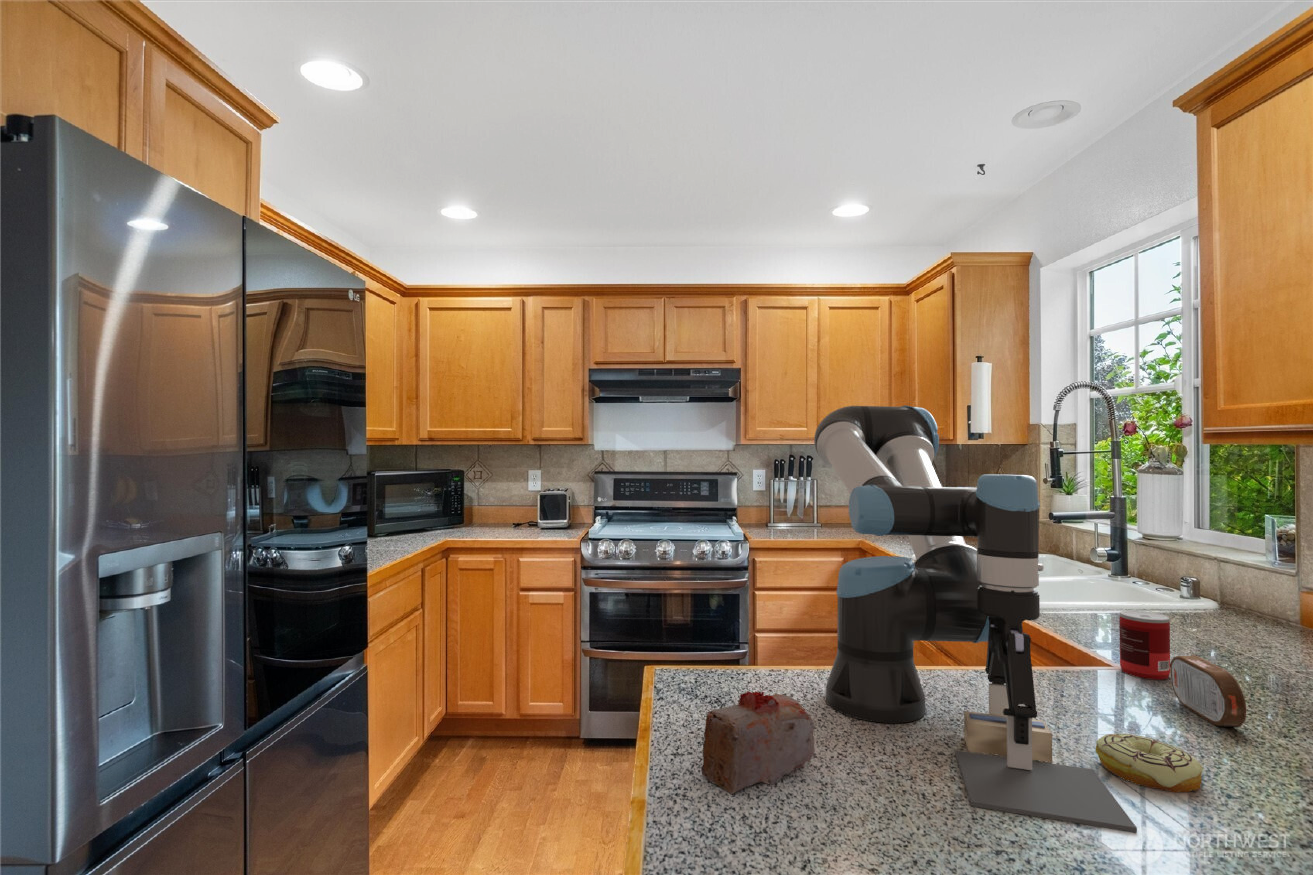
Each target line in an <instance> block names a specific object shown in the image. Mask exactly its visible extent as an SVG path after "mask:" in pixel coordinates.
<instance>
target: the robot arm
mask: <svg viewBox="0 0 1313 875" xmlns="http://www.w3.org/2000/svg"><path fill="white" fill-rule="evenodd" d="M938 430H939V428H938V424H937V421H936V420H935V418H934V416H933V415H932V414H931V412H929V410H927V409H926V408H923V407H918V406H910V405H901V406H888V405H887V406H885V405H884V406H883V405H881V406H880V405H879V406H878V405H877V406H876V405H847V406H843V407H840V408H837V409H836V410H833V411H832V412H830V413H829V414H827V415H826V416H825V417H824V418H822V420H821V421H820V423H819V424H818V425H817V428H816V430H815V433H814V438H813V442H814V444H813V445H814V448H815V451H816V453H817V455H818V457H819V458H820V459H821V460H822V462H824V464H827V465H828V466H830V467H832V468H833V470H834V471H835V473H836V475H838V477H839V479H840V480H841V482H842V484H843V485H844V487H845V488H846V490H847V491H848V493H849V494H850V495H849V500H848V515H849V519H850V525H851V527H852V529H853V531H855V532H856V533H858V534H861V535H872V536H876V537H884V536H907V537H908V540H909V543H910V545H911V549H912V551H913V554H914V557H915V560H914V561H913V559H911V558H909V557H906V556H900V555H898V556H897V555H895V556H893V555H892V556H888V555H882V556H881V555H880V556H878V555H877V556H870V557H869V556H868V557H862V558H861V557H860V558H856V559H853V560H849V561H847V562H845V563H843V564H842V565H841V567H840V568H839V571H838V576H837V588H836V591H835V592H836V595H837V633H836V634H837V652H836V655H835V659H834V662H833V665H832V667H831V670H830V673H829V676H828V679H827V682H826V686H825V701H826V703H827V705H828V706H829V707H831V708H832V709H834V710H835V711H837V712H839V713H841V714H843V715H846V716H849V717H852V718H855V719H859V720H865V721H869V722H874V723H875V722H876V723H884V724H885V723H887V724H889V723H890V724H900V723H908V722H912V721H917V720H919V719H921V718H923V717H924V716H925V714H926V696H925V692H924V689H923V687H922V683H921V680H920V676H919V674H918V670H917V668H916V665H915V660H914V643H915V642H916V641H919V642H920V641H921V642H922V641H923V642H925V641H926V642H960V643H961V642H962V643H963V642H964V643H967V642H968V643H973V644H979V643H983V642H985V643H986V642H987V648H986V650H987V651H986V661H985V664H986V665H985V669H984V670H985V671H984V672H986V675H987V681H988V682H989V683H988V714H993V715H1001V716H1007V756H1006V757H1007V765H1008V767H1012V768H1019V769H1027V770H1032V761H1033V760H1032V719H1037V717H1038V710H1037V706H1036V705H1037V703H1036V696H1035V695H1036V694H1035V686H1034V685H1035V684H1034V675H1033V674H1034V673H1033V666H1032V665H1033V664H1032V656H1031V655H1032V654H1031V641H1032V638H1031V635H1030V634H1027V633H1026V632H1024V630H1023V622H1025V621H1029V622H1030V621H1036V620H1037V619H1039V618H1040V615H1041V614H1040V610H1041V608H1040V606H1041V605H1040V602H1041V600H1040V593H1038V590H1036V588H1037V587H1038V586H1039V585H1040V577H1039V576H1040V574H1039V572H1042V571H1044V565H1043V564H1042V563H1039V561H1040V560H1039V557H1040V556H1039V552H1040V548H1039V547H1040V543H1039V542H1040V507H1041V503H1040V500H1039V492H1038V481H1037V480H1036V479H1035V477H1033V476H1031V475H1028V474H1027V475H1025V474H982V475H980V476H979V477H978V479H977V480H976V481H977V483H976V486H956V487H955V486H953V487H952V486H947V487H946V486H942V484H941V483H940V481H939V477H938V475H937V473H936V471H935V469H934V466H933V464H932V463H933V461H934V459H935V457H936V456H937V453H938V450H939V444H940V437H939V436H940V435H939V433H938ZM964 537H965V538H966V537H967V538H977V539H976V541H977V542H976V543H977V546H976V547H977V548H975V547H973V546H971V545H969V544H967V543H966V540H965V538H964Z"/></svg>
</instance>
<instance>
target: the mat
mask: <svg viewBox="0 0 1313 875" xmlns="http://www.w3.org/2000/svg"><path fill="white" fill-rule="evenodd" d="M954 755H955V758H956V761H957V764H958V768H959V772H960V774H961V778H962V781H963V783H964V787H965V791H966V793H967V796H968V799H969V802H970V806H971V807H973V808H980V809H987V810H994V811H998V812H999V811H1000V812H1006V813H1012V814H1017V815H1023V816H1029V817H1030V816H1031V817H1032V816H1033V817H1038V818H1044V819H1049V820H1057V821H1062V822H1068V823H1074V824H1082V825H1087V826H1094V827H1101V828H1105V829H1106V828H1107V829H1113V830H1118V831H1126V832H1131V833H1138V827H1137V826H1136V825H1135V823H1134V822H1133V820H1132V819H1131V818H1130V816H1129V815H1128V814H1127V813H1126V811H1125V810H1124V808H1123V807H1122V806H1121V804H1120V803H1119V801H1118V800H1117V799H1116V797H1115V796H1114V795H1113V794H1112V793H1111V791H1110V790H1109V789H1108V788H1107V786H1106V785H1105V783H1104V782H1103V781H1102V779H1101V778H1100V776H1099V775H1098V774H1097V773H1096V771H1095V770H1094V769H1093V768H1087V767H1081V766H1072V765H1066V764H1065V765H1064V764H1059V763H1058V764H1057V763H1053V762H1052V763H1050V762H1043V761H1036V760H1032V770H1027V769H1019V768H1012V767H1008V765H1007V756H1001V755H994V754H987V753H979V752H972V751H963V750H962V751H961V750H954Z"/></svg>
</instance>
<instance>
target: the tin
mask: <svg viewBox="0 0 1313 875" xmlns="http://www.w3.org/2000/svg"><path fill="white" fill-rule="evenodd" d="M1170 679H1171V688H1172V690H1173V692H1174V695H1175V697H1176V698H1177V700H1178V701H1179V702H1180V704H1181V705H1182V706H1184V707H1185V708H1186V709H1188V710H1189V711H1192V712H1193V713H1195V714H1196V715H1198V716H1199V717H1201V718H1203V719H1204V720H1205V721H1206V722H1208V723H1210V724H1212V725H1214V726H1217V727H1230V728H1240V727H1241V726H1243V725H1244V724H1245V721H1246V718H1247V704H1246V699H1245V696H1244V693H1243V690H1242V688H1241V686H1240V684H1239V682H1238V681H1237V680H1236V678H1235V677H1234V676H1233V674H1232V673H1231V672H1229V671H1228V670H1226V669H1225V668H1222V667H1220V666H1218V665H1216V664H1214V663H1211V662H1210V661H1208V660H1205V659H1203V657H1200V656H1197V655H1193V654H1192V655H1177V656H1174V657H1173V658H1172V659H1171V660H1170Z"/></svg>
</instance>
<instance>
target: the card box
mask: <svg viewBox="0 0 1313 875" xmlns="http://www.w3.org/2000/svg"><path fill="white" fill-rule="evenodd" d="M963 714H964V715H963V727H964V728H963V733H964V734H963V738H964V741H965V745H966V747H967V752H972V753H979V754H987V753H991V754H990V755H994V754H998V755H997V756H1001V755H1003V756H1002V757H1007V716H1001V715H993V714H989V713H985V712H975V711H967V710H964V712H963ZM1036 760H1040V761H1039V762H1043V761H1045V762H1044V763H1052V764H1053V733H1052V731H1051V729H1050V728H1049V727H1048V725H1047V723H1046V722H1045V720H1041V719H1040V720H1039V719H1034V718H1032V761H1036ZM1046 761H1047V762H1046Z"/></svg>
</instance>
